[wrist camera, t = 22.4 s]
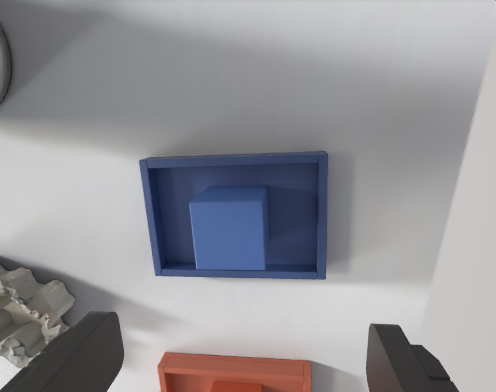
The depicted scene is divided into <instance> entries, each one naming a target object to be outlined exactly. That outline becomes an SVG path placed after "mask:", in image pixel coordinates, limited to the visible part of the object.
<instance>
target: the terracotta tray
mask: <svg viewBox="0 0 496 392" xmlns="http://www.w3.org/2000/svg"><path fill="white" fill-rule="evenodd" d="M158 374H159V381H160V387H161V392H210V391H211V387H212V384H213V381H216V382H231V383H246V384H260V385H262V388H263V392H311V390H312V377H311V367H310V361H301V360H284V359H267V358H250V357H233V356H216V355H199V354H182V353H164V355H163V357H162V359H161V361H160V363H159V365H158Z"/></svg>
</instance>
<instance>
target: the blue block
mask: <svg viewBox="0 0 496 392" xmlns="http://www.w3.org/2000/svg"><path fill="white" fill-rule="evenodd" d="M189 206H190V215H191V224H192V233H193V242H194V251H195V261H196V269H208V270H265V269H266V264H267V257H268V250H269V243H270V235H269V211H268V187H267V185H251V186H216V187H207V188H206V189H205V190H204V191H203V192H202V193H200V194H199V195H198V196H197V197H196V198H195V199H193V200H192V201H191V202H190V203H189Z"/></svg>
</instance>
